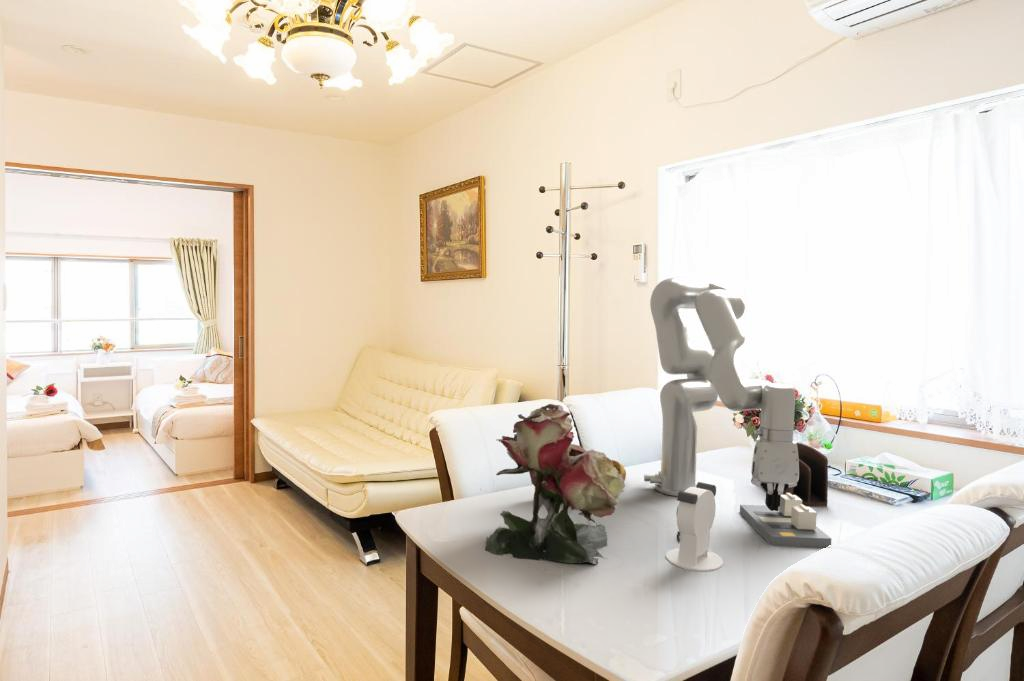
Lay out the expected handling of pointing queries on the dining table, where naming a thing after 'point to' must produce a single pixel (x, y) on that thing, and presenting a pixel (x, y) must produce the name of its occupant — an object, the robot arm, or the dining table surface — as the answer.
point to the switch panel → (782, 528)
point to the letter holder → (811, 477)
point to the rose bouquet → (557, 491)
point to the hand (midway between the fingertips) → (772, 509)
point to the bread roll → (619, 468)
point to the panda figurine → (695, 529)
